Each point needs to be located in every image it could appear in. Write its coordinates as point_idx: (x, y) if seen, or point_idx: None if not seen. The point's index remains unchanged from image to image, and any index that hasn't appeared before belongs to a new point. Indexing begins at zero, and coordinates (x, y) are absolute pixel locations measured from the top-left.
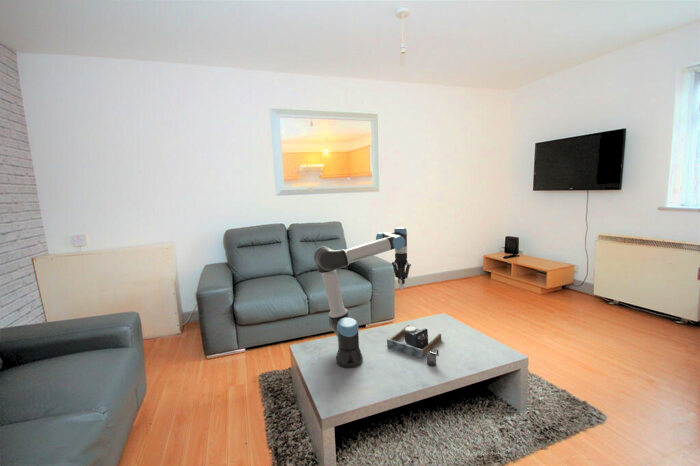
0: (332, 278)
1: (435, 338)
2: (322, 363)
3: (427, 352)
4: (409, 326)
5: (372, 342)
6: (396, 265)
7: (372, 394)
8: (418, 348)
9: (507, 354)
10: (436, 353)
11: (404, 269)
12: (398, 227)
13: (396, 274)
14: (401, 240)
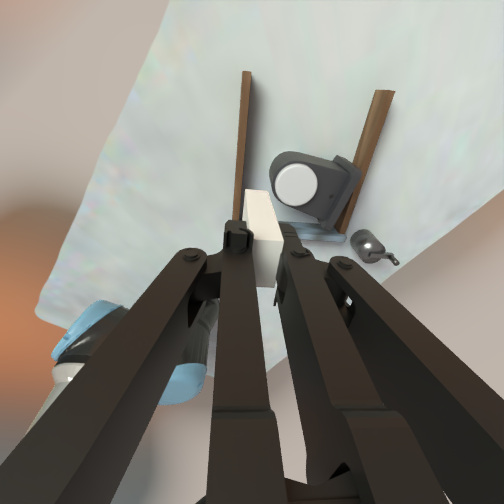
0: None
1: (374, 142)
2: None
3: (362, 253)
4: (287, 171)
5: (180, 220)
6: (72, 485)
7: (282, 345)
8: (333, 237)
9: None
10: (388, 255)
11: (363, 391)
12: None
13: (193, 326)
14: None
